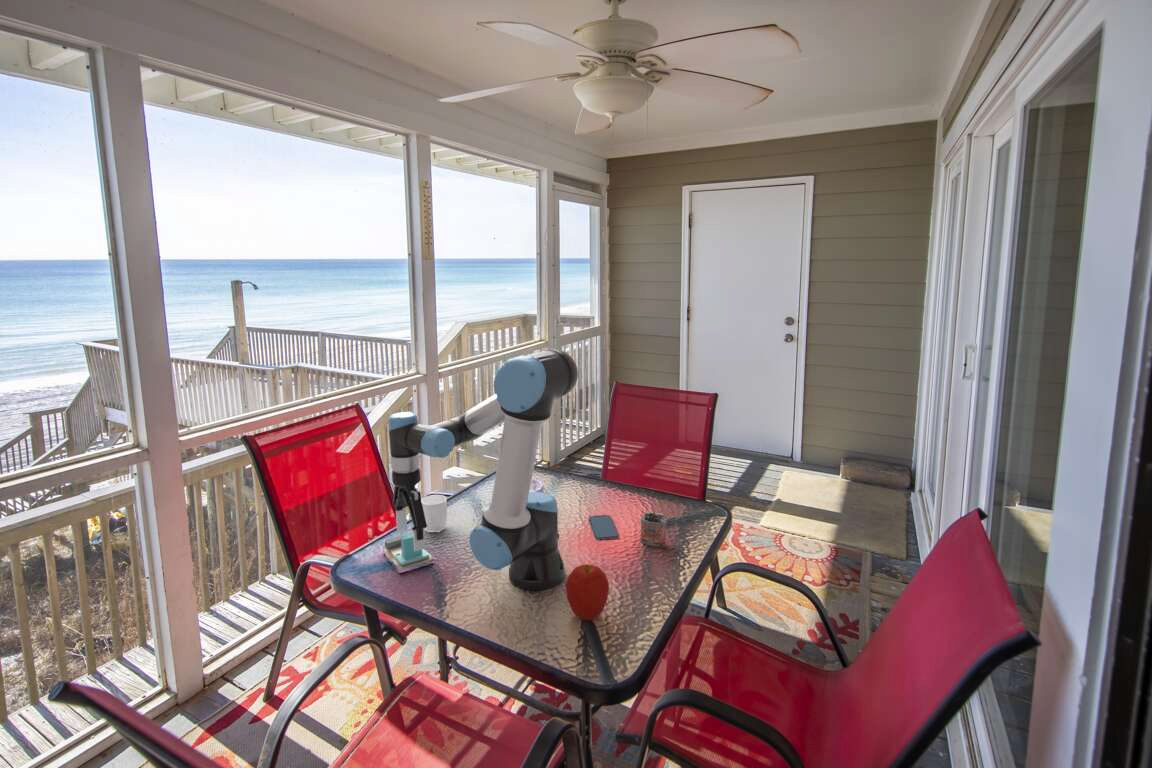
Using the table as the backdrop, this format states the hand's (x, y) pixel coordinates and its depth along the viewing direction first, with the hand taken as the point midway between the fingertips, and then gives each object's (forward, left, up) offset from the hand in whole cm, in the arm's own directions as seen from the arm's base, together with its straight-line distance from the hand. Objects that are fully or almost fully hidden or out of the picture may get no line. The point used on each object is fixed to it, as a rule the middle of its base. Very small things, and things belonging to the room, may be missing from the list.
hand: (410, 540), depth 166 cm
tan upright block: (-32, -63, -7) cm, 71 cm away
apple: (-50, -25, -7) cm, 56 cm away
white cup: (+17, -14, -7) cm, 24 cm away
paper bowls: (+15, -45, -8) cm, 48 cm away
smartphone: (-15, -57, -8) cm, 60 cm away
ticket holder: (+3, 0, -7) cm, 8 cm away
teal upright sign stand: (0, 0, -5) cm, 5 cm away
